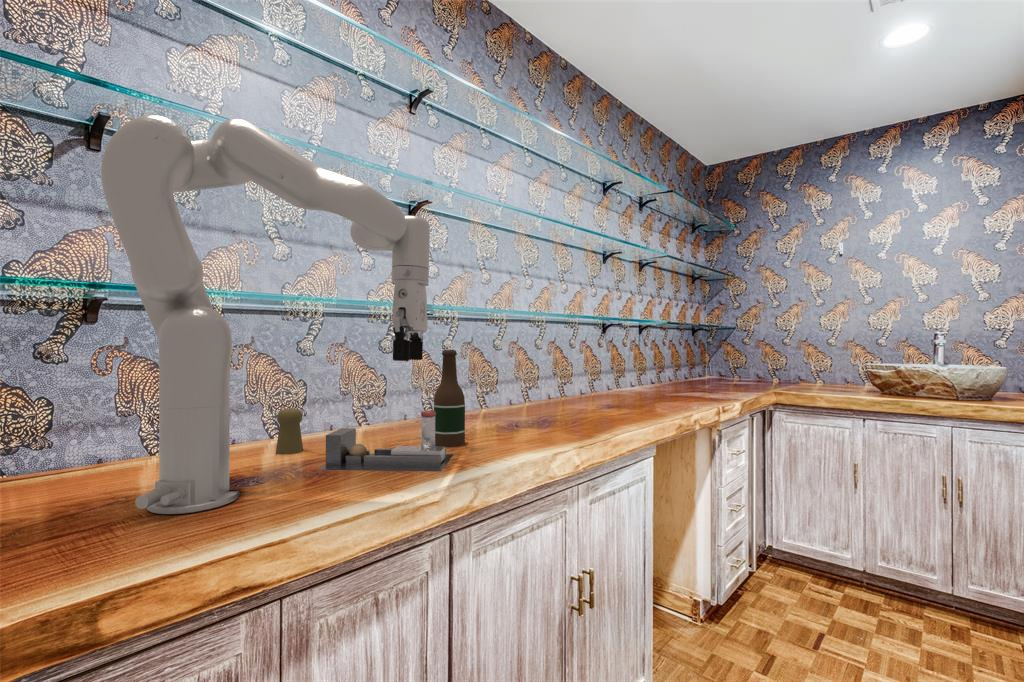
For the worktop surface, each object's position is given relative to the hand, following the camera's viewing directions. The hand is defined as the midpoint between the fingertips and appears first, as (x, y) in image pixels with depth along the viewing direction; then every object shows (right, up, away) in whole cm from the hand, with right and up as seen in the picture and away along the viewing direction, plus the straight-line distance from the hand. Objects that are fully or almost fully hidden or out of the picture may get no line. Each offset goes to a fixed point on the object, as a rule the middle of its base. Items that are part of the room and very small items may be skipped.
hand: (408, 360), depth 101 cm
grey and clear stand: (+2, -20, -2) cm, 21 cm away
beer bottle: (+6, -22, +16) cm, 28 cm away
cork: (-28, -22, +8) cm, 37 cm away
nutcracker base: (-4, -22, -1) cm, 22 cm away
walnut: (-10, -21, -1) cm, 23 cm away
